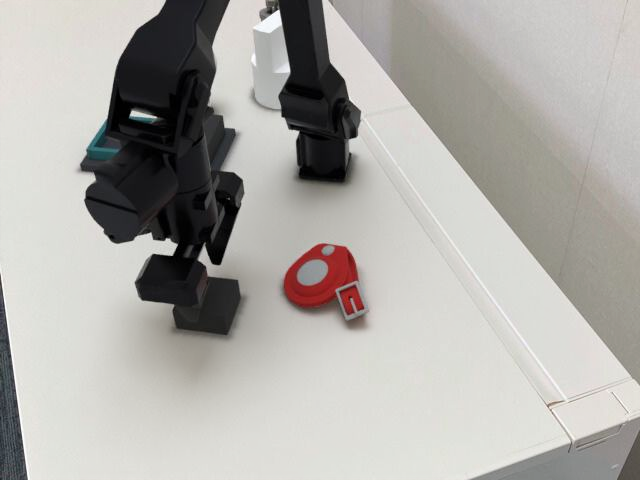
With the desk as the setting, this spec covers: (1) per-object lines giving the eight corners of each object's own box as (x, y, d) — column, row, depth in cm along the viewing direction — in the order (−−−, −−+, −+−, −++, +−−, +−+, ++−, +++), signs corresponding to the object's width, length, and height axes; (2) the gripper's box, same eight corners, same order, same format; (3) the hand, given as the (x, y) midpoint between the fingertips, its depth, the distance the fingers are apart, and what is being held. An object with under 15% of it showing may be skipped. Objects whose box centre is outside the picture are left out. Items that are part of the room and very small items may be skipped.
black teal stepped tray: (235, 134, 113) (232, 110, 110) (213, 183, 105) (208, 158, 102) (112, 123, 115) (106, 99, 112) (81, 170, 107) (73, 145, 104)
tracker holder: (266, 295, 89) (302, 229, 93) (281, 317, 93) (315, 252, 97) (357, 311, 83) (391, 240, 87) (369, 334, 87) (402, 265, 91)
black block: (241, 298, 91) (238, 279, 88) (227, 335, 87) (224, 316, 84) (192, 292, 91) (187, 273, 89) (176, 328, 87) (171, 310, 85)
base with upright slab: (276, 73, 125) (270, -1, 116) (323, 88, 121) (321, 13, 112) (243, 99, 119) (234, 23, 110) (291, 115, 116) (286, 38, 107)
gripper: (135, 116, 82) (163, 231, 93) (64, 228, 69) (106, 344, 81) (237, 125, 80) (252, 240, 92) (183, 241, 68) (208, 357, 80)
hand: (205, 291), depth 86 cm, fingers open, 9 cm apart
